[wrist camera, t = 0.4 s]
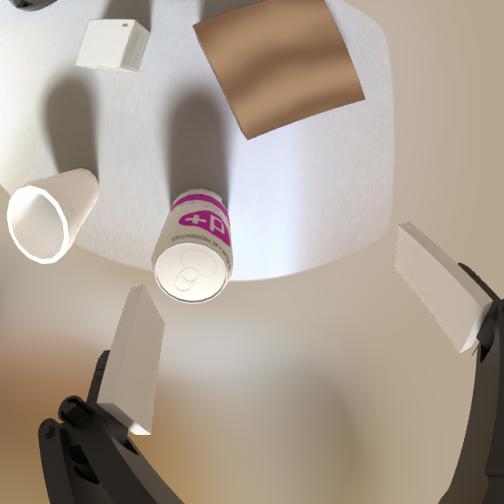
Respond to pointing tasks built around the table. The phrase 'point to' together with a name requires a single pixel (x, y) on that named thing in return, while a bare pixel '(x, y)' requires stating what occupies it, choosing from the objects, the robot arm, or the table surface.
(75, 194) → the foam cup
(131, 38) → the product box
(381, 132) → the table surface
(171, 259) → the supplement can
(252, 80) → the walnut block
